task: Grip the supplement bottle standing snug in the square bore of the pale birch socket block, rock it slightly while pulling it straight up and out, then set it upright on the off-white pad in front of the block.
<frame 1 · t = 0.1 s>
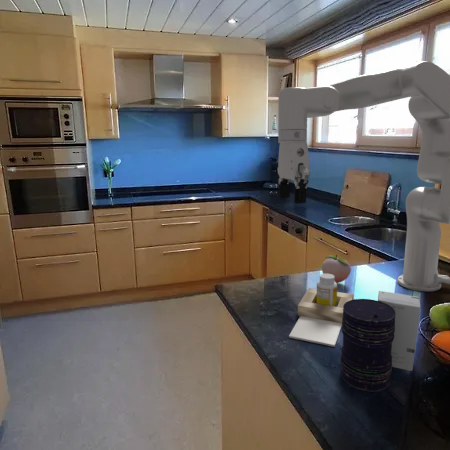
hand: (291, 200, 103), 31 cm above the worktop, tool pointing down, fingers open, 9 cm apart
skincare box: (392, 361, 81), on the worktop
supplement bottle: (326, 310, 106), resting in socket block
decorative fruit: (334, 284, 124), on the worktop
socket block: (326, 309, 106), on the worktop
dark blue cylinder: (364, 376, 77), on the worktop
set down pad: (316, 331, 94), on the worktop
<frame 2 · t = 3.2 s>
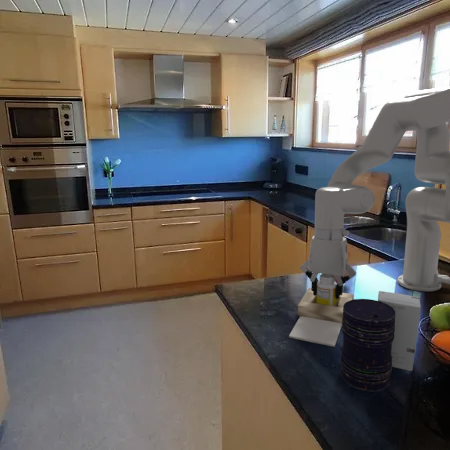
hand: (326, 294, 105), 5 cm above the worktop, tool pointing down, fingers closed on supplement bottle, 5 cm apart
supplement bottle: (326, 310, 106), resting in socket block, touching gripper
everything else where it was.
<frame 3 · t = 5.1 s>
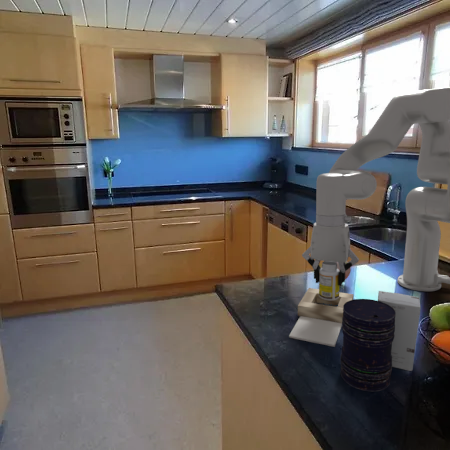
hand: (329, 282, 104), 8 cm above the worktop, tool pointing down, fingers closed on supplement bottle, 5 cm apart
supplement bottle: (328, 297, 105), point 4 cm above the worktop, touching gripper
everything else where it was.
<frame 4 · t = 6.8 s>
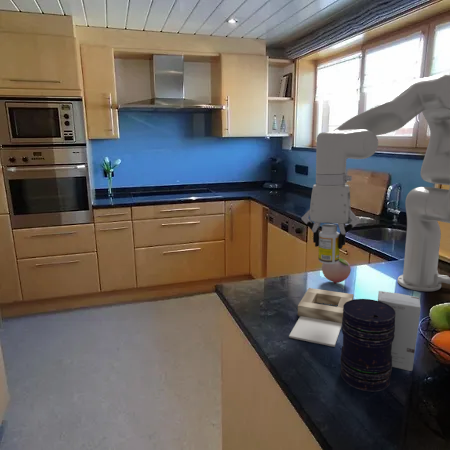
hand: (329, 245, 101), 19 cm above the worktop, tool pointing down, fingers closed on supplement bottle, 5 cm apart
supplement bottle: (328, 262, 102), point 14 cm above the worktop, touching gripper
everything else where it was.
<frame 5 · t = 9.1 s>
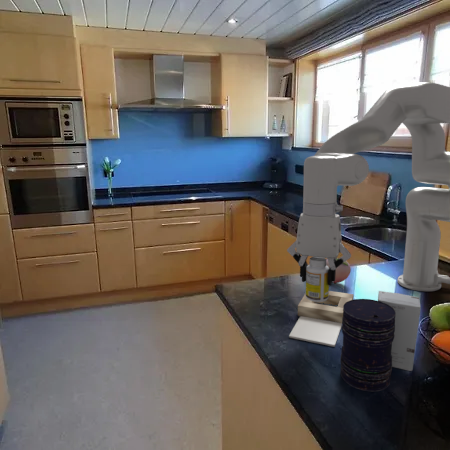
hand: (317, 281, 91), 14 cm above the worktop, tool pointing down, fingers closed on supplement bottle, 5 cm apart
supplement bottle: (316, 298, 92), point 9 cm above the worktop, touching gripper
everything else where it was.
when the fingers open (6 cm above the worktop, at t = 10.8 s): supplement bottle drops 1 cm, resting on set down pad.
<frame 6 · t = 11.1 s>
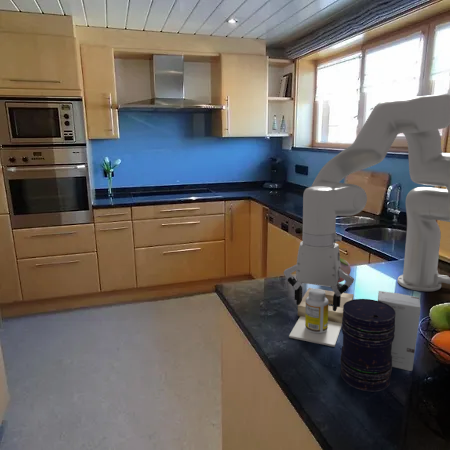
hand: (316, 305, 93), 7 cm above the worktop, tool pointing down, fingers open, 8 cm apart
supplement bottle: (316, 329, 94), resting on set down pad
everything else where it was.
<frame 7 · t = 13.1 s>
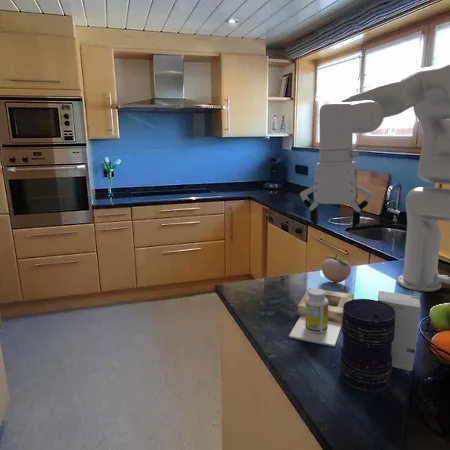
hand: (334, 225, 93), 26 cm above the worktop, tool pointing down, fingers open, 9 cm apart
nothing on the worktop moved.
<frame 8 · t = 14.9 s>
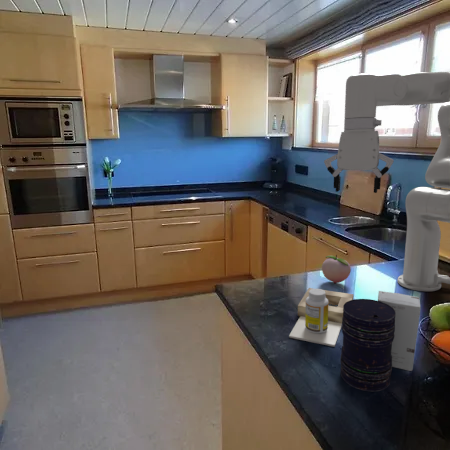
hand: (356, 191, 100), 33 cm above the worktop, tool pointing down, fingers open, 9 cm apart
nothing on the worktop moved.
at the end: supplement bottle inside the target area on the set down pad (0.2 cm from its centre), point 0.3 cm above the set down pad's base; supplement bottle tilted 0°; supplement bottle touching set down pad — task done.
